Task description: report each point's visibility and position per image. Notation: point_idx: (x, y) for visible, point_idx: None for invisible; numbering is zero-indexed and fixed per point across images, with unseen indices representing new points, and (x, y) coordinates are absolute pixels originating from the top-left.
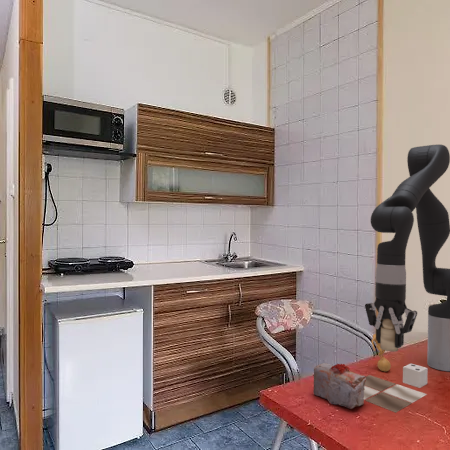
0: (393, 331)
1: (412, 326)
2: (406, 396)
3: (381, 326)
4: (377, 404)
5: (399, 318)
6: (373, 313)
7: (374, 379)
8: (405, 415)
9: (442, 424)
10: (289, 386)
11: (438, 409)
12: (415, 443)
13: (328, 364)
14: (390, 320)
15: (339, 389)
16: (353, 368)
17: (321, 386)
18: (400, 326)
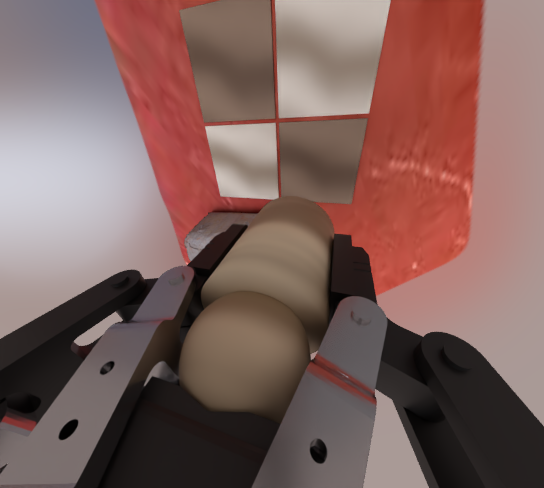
0: (312, 347)
1: (541, 442)
2: (340, 82)
3: (201, 307)
4: (307, 198)
5: (307, 453)
6: (53, 371)
7: (213, 39)
8: (371, 196)
9: (465, 173)
10: (184, 239)
11: (453, 77)
12: (412, 274)
13: (196, 251)
14: None
15: None
16: (118, 3)
17: None
18: (344, 357)
